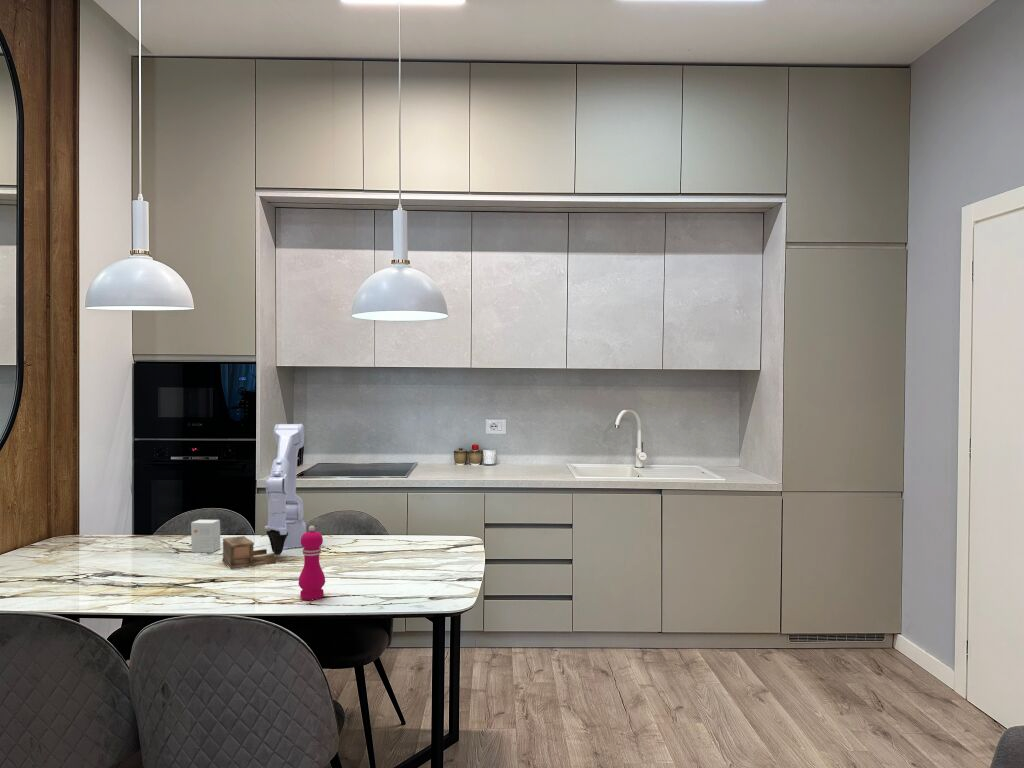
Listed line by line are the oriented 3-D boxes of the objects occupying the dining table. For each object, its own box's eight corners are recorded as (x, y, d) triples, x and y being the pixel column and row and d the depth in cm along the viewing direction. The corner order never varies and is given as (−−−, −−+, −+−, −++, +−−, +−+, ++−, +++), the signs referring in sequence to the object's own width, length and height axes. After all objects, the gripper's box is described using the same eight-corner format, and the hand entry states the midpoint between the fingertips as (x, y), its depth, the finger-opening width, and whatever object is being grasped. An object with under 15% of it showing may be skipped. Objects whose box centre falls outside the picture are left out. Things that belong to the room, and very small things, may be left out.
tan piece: (276, 552, 256) (276, 538, 256) (282, 556, 251) (282, 541, 251) (229, 559, 247) (229, 544, 247) (234, 563, 242) (234, 547, 242)
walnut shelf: (265, 555, 257) (264, 533, 257) (275, 563, 247) (275, 540, 247) (222, 561, 249) (222, 538, 249) (231, 569, 239) (231, 545, 239)
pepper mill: (301, 593, 213) (301, 523, 213) (327, 593, 213) (327, 522, 213) (296, 601, 206) (295, 528, 205) (323, 600, 206) (322, 528, 206)
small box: (220, 549, 266) (220, 519, 266) (213, 553, 261) (212, 522, 261) (199, 548, 267) (199, 519, 267) (191, 552, 261) (190, 522, 261)
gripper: (258, 510, 256) (258, 549, 257) (271, 516, 245) (271, 558, 245) (279, 508, 260) (279, 547, 261) (292, 514, 248) (293, 555, 249)
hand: (277, 552), depth 253 cm, fingers closed on tan piece, 2 cm apart
